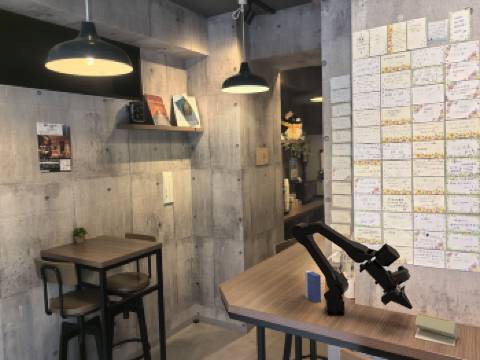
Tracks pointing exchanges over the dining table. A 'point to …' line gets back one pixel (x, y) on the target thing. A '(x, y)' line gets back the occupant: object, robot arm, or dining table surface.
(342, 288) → the robot arm
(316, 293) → the walkman
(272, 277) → the dining table surface
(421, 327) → the skincare box
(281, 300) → the dining table surface
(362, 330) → the dining table surface
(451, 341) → the mat
